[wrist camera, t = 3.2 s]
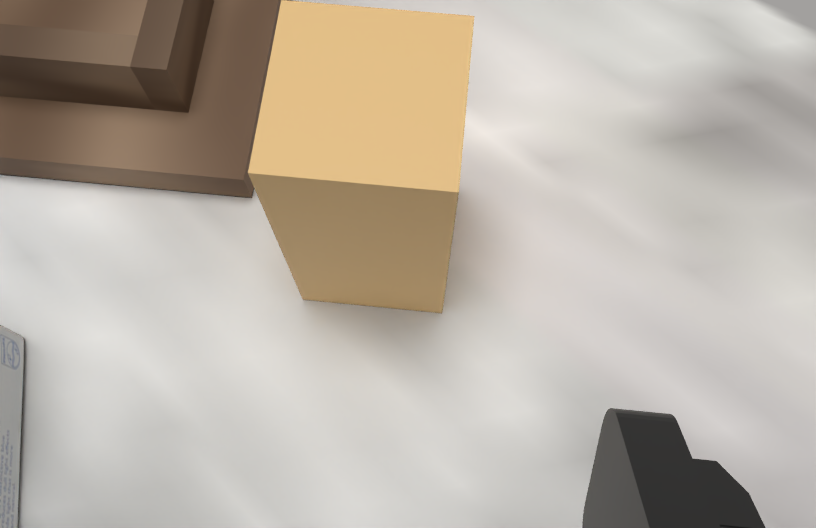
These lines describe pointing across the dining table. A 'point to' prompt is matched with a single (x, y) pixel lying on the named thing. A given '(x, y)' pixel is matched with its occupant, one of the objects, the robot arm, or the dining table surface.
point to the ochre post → (364, 150)
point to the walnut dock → (134, 91)
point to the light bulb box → (10, 423)
